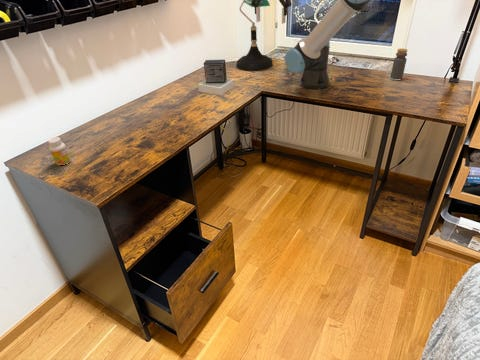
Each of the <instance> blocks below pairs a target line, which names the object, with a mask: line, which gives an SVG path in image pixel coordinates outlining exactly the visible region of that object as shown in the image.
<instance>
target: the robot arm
mask: <svg viewBox="0 0 480 360" xmlns="http://www.w3.org/2000/svg"><path fill="white" fill-rule="evenodd" d="M256 1H257V2H256ZM261 1H262V0H252V2H251V6H254V7H253V8H254V14H255V16H256V18H255V19H256V20H255V21H256V23H259V22H261V7H258V6H259V4H260V3H261ZM278 1H279V3H280V4H281V6H282V8H281V24H285V23H286V16H287V15H288V9H289V8H290V7H291V6H292V5H293V4H292V0H278ZM335 1H336V2H335V3H334V4H333V5H332V6H331V8H330V9H329V10H328V11H327V12H326V13H325V15H324V16H323V17H322V19H321V20H320V21H319V22H318V23H317V24H316V26H315V27H314V28H313V29H312V30H311V32H310V33H309V34H308V35H307V36H306V37H302V38H300V40H299V41H298V42H297V44H296V45H295V46H294V47H292V48H289V49H288V50H287V51H286V53H285V55H284V63H285V67H286V69H288V71H289V72H290V73H292V74H297V75H298V74H301V77H300V80H299V85H300V86H301V87H303V88H305V89H309V90H319V88H321V89H325V88H327V87H329V85H330V77H329V73H328V64H329V56H330V55H329V54H330V48H331V46H330V45H331V43H330V42H331V40H332V38H333V37H334V36H335V35H337V33H338V32H339V31H340V30H341V28H343V26H344V25H345V24H347V22H348V21H349V20H350V19H351V18H352V17H353V15H354V14H355V13H356V12H357V13H358V12H359V13H361V12H362V11H364V9H365V8H367V6H368V5H369V4H370V3H371V2H372V0H335ZM251 6H250V7H251ZM324 87H325V88H324Z"/></svg>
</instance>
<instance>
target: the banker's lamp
mask: <svg viewBox="0 0 480 360" xmlns="http://www.w3.org/2000/svg"><path fill="white" fill-rule="evenodd" d="M251 2H252V0H242V2H241V4H240V6H239V11H240V13H241V14H242V15H243V16H244V17H246V19H247V20H248V21H249V22H250V23H251V27H250V42H251V43H250V47H249V50H248V53H247V54H246V55H244V56H241V57H240V58H239V59H238V60H236V63H235V67H236V69H238V70H241V71H244V72H261V71H266V70H268V68H269V69H270V68H271V67H273V66H274V62H273V59H272V57H269V56H268V55H266V54H262V53H261V52H260V49H259V47H258V44H257V41H258V39H257V26H256V25H255V24H256V23H255V22H254V21H252V20H251V18H249V17H248V15H246V14H245V12H244V11H243V10H242V7H243V5H244V4H246V5H248V6H250V7H251V8H255V7H254V6H251ZM256 2H257V1H256ZM270 6H271V3H270V2H269V1H268V0H262V1H261V3H260V4H259V6H258V7H260V8H261V7H270Z"/></svg>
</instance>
